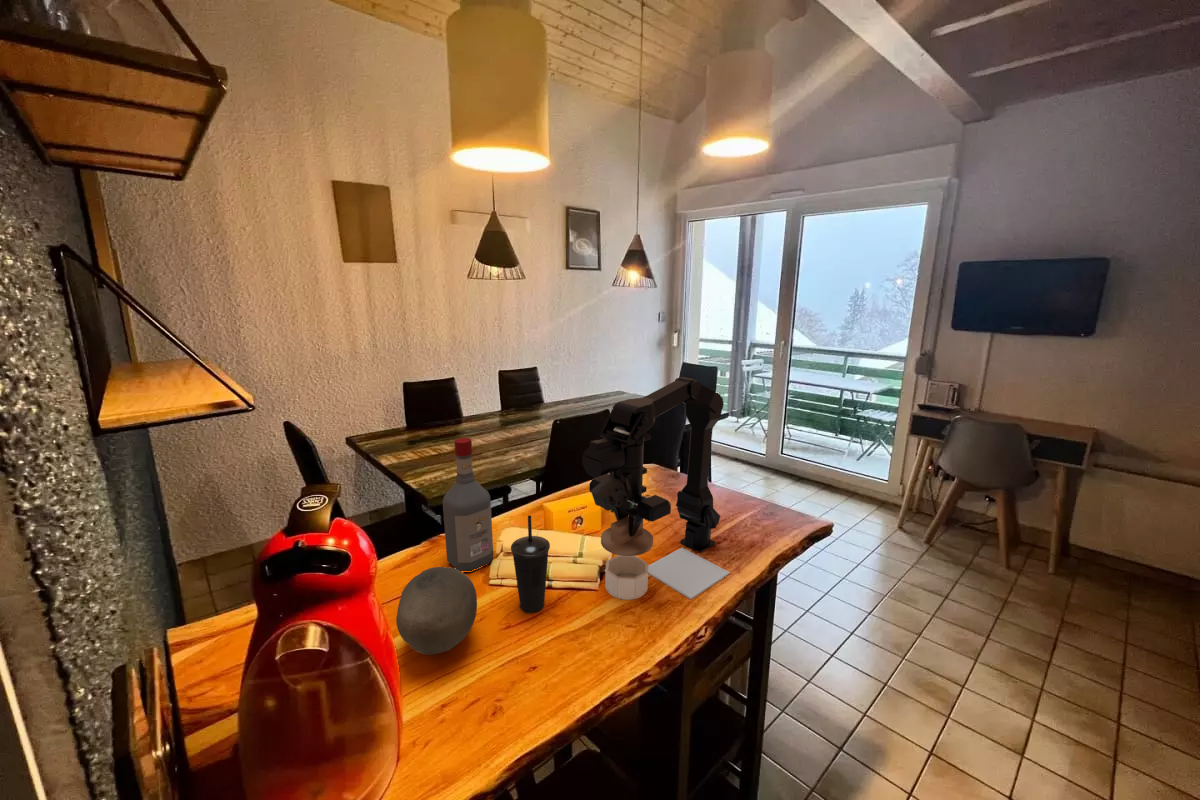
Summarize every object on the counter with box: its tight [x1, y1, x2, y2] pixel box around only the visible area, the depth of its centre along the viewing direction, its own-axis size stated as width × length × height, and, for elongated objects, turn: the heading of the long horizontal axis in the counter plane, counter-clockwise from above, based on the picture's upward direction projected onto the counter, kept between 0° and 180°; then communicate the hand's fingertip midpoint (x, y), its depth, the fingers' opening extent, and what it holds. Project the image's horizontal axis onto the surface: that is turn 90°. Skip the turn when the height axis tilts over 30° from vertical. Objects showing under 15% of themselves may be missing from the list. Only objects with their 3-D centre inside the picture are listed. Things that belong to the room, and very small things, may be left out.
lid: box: [600, 515, 654, 556], centre depth 103 cm, size 11×11×5 cm
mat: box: [648, 547, 731, 600], centre depth 112 cm, size 14×14×1 cm
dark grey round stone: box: [395, 566, 478, 656], centre depth 87 cm, size 14×14×15 cm
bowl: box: [604, 555, 649, 601], centre depth 106 cm, size 9×9×5 cm
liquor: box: [442, 437, 494, 571], centre depth 112 cm, size 9×9×30 cm
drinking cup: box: [510, 515, 551, 614], centre depth 98 cm, size 8×8×20 cm
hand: (627, 533), depth 104 cm, fingers closed on lid, 2 cm apart
